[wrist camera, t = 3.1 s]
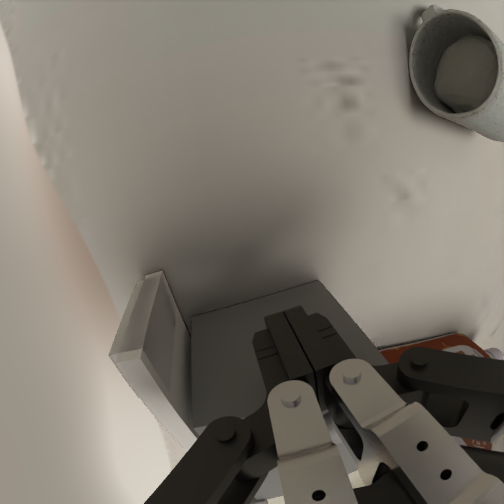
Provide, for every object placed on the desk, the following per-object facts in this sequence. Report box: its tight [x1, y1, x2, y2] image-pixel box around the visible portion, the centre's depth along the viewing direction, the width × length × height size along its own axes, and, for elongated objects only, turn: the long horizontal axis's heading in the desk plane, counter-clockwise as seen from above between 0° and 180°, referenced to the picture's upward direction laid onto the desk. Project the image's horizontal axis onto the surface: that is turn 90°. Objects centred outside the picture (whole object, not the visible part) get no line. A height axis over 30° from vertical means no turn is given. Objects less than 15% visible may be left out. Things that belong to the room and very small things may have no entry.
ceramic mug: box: [409, 5, 504, 142], centre depth 9 cm, size 11×8×8 cm
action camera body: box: [191, 280, 389, 504], centre depth 15 cm, size 14×10×9 cm
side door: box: [109, 271, 199, 452], centre depth 14 cm, size 17×2×7 cm, turn 13°
